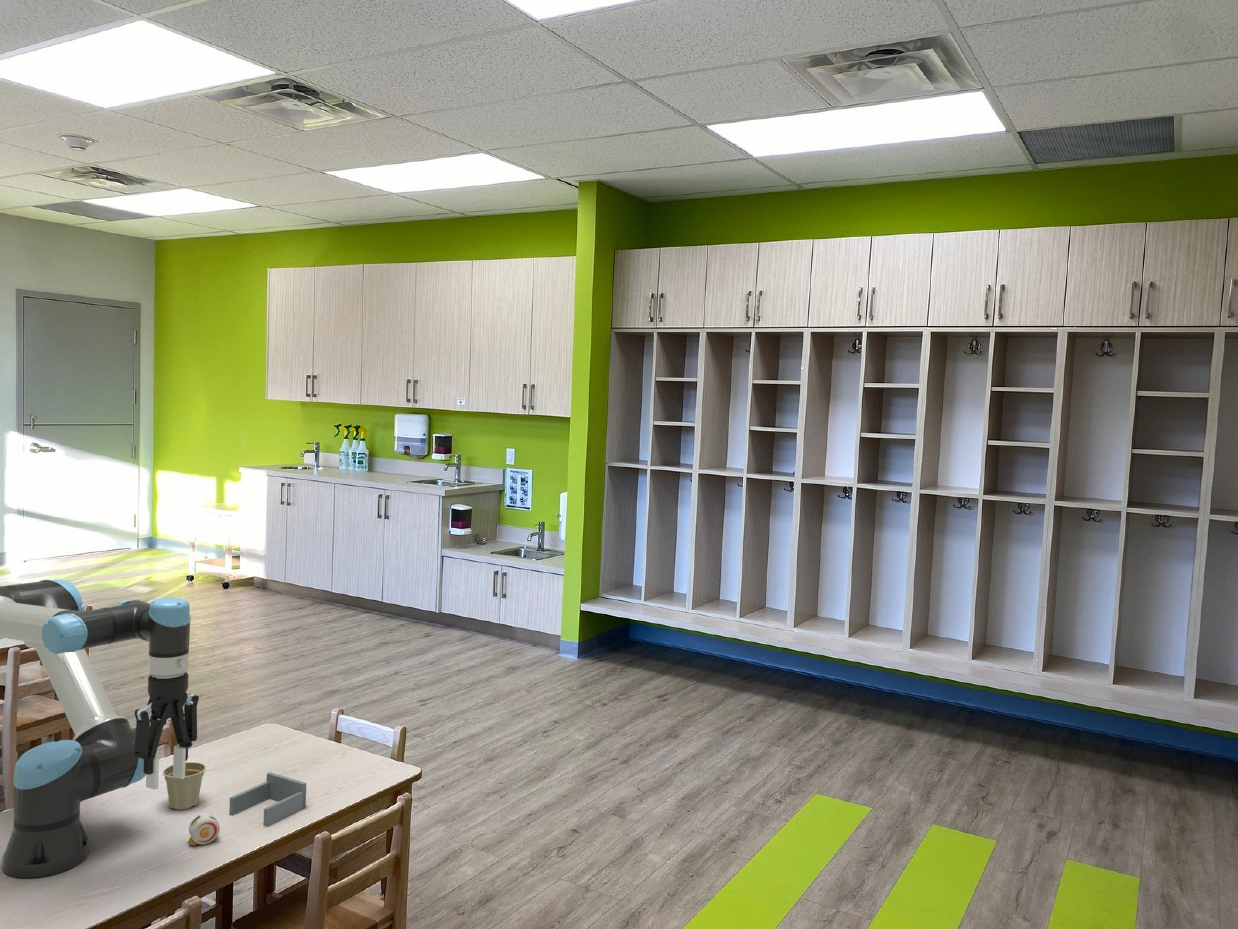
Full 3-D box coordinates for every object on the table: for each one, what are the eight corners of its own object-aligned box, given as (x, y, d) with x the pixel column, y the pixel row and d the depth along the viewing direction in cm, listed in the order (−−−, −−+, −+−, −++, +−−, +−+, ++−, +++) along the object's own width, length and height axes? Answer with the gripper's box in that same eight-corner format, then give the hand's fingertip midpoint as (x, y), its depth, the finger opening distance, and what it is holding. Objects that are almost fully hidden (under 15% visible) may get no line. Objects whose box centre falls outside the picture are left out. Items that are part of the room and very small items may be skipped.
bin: (266, 826, 206) (267, 801, 206) (229, 814, 211) (230, 789, 211) (305, 807, 217) (306, 783, 217) (269, 795, 222) (269, 772, 222)
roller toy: (221, 843, 198) (222, 817, 197) (189, 849, 194) (190, 823, 194) (217, 834, 201) (217, 809, 201) (186, 841, 198) (186, 815, 197)
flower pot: (155, 803, 215) (156, 767, 215) (196, 793, 222) (197, 758, 221) (169, 817, 208) (170, 780, 208) (211, 806, 215) (212, 770, 215)
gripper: (139, 688, 177) (136, 803, 178) (218, 666, 194) (215, 771, 195) (114, 681, 180) (111, 794, 181) (194, 660, 197) (191, 764, 198)
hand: (165, 782), depth 188 cm, fingers open, 6 cm apart
